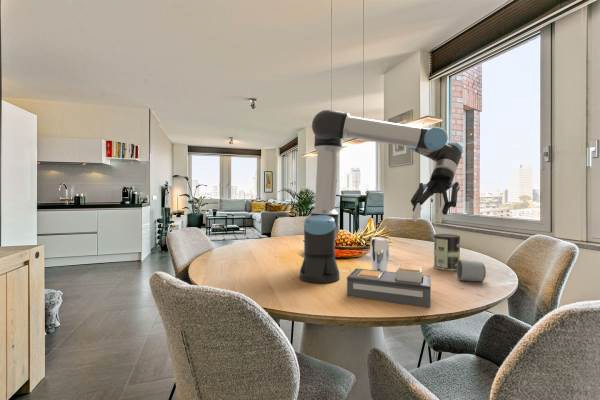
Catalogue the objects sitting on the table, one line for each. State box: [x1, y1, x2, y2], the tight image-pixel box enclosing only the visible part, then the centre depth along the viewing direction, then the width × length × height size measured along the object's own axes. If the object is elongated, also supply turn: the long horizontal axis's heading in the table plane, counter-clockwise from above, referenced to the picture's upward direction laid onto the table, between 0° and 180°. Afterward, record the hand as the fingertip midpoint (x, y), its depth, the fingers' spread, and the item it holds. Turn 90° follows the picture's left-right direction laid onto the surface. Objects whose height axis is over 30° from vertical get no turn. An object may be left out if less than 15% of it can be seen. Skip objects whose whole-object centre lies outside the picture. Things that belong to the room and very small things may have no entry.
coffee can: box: [433, 233, 461, 272], centre depth 132 cm, size 10×10×14 cm
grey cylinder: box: [456, 258, 487, 282], centre depth 114 cm, size 11×8×8 cm
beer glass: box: [369, 237, 390, 272], centre depth 116 cm, size 7×7×15 cm
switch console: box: [346, 268, 432, 308], centre depth 96 cm, size 24×12×6 cm, turn 66°
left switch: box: [357, 269, 383, 279], centre depth 99 cm, size 7×7×4 cm
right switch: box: [395, 263, 423, 283], centre depth 94 cm, size 7×7×4 cm
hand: (426, 219), depth 103 cm, fingers open, 8 cm apart
